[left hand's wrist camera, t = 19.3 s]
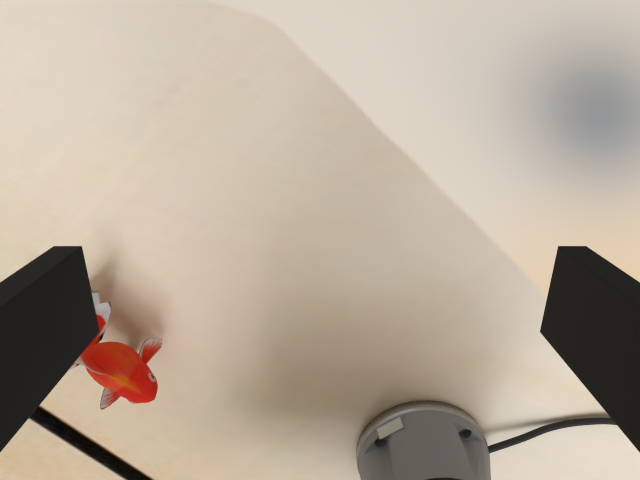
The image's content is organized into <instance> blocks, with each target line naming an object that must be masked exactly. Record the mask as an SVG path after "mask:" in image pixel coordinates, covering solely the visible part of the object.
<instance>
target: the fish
mask: <svg viewBox="0 0 640 480" xmlns="http://www.w3.org/2000/svg"><path fill="white" fill-rule="evenodd" d="M91 292H92V297H93V302H94V306H95V311H96V316H97V320H98V325H99V330H100V332H99V334H98V335H97V336H96V337H95V338H94V340H93V341H92V342H91V343H90V344H89V346H88V347H87V348H86V349H85V350H84V352H83V353H82V354H81V355H80V357H79V358H78V359H77V360H76V361H75V363H74V364H73V365H72V366H71V367H70V369H69V370H71V369H72V368H74V367H76V366H78V365H79V364H80V365H83V366H85V367H86V369H87V371H88V373H89V374H90V375H91V376H92V378H93V379H94V380H95V381H96V382H98V383H99V384H100V385H102V386H103V387H105V389H104V391H103V394H102V397H101V404H100V407H101V409H104V408H106V407H108V406H110V405H111V404H112V403H113V402H115V401H116V400H117V399H118V398H119V397H120V396H122V397H124V398H127V399H128V401H129V402H131V403H133V404H136V403H148V402H150V401H152V400H154V399H155V397H156V393H157V387H158V385H157V380H156V378H155V376H154V375H153V373H152V372H151V370H150V369H149V367H148V366H147V363H148V361H149V360H150V359H151V358H152V357H153V356H154V355H155V354H156V352H157V351H158V350H159V349H160V348H161V344H162V340H161V339H148V340H146V341H145V342H144V344H143V345H142V347H141V350H140V353H139V354H138V353H137V352H136V351H135V350H133V349H132V348H131V347H129V346H127V345H125V344H122V343H118V342H104V343H99V341H101V340H102V337H103V335H104V332H105V329H106V326H107V323H108V320H109V317H110V312H111V304H110V302H106V303H100V299H99V292H96V291H91ZM69 370H68V371H69Z"/></svg>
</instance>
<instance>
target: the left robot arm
mask: <svg viewBox="0 0 640 480" xmlns="http://www.w3.org/2000/svg"><path fill="white" fill-rule="evenodd" d="M99 332H100V330H99V325H98V320H97V316H96V311H95V306H94V302H93V297H92V292H91V288H90V283H89V278H88V273H87V269H86V264H85V259H84V255H83V250H82V246H54V247H52V248H51V249H49V250H48V251H46V252H45V253H43V254H42V255H40V256H39V257H37V258H36V259H34V260H33V261H31V262H30V263H28V264H27V265H25V266H24V267H23V268H21V269H20V270H18V271H17V272H15V273H14V274H12V275H11V276H9V277H8V278H6V279H5V280H3V281H2V282H0V452H1V451H2V449H3V448H4V447H5V446H6V445H7V443H8V442H9V441H10V440H11V439H12V437H13V436H14V435H15V434H16V433H17V431H18V430H19V429H20V428H21V427H22V425H23V424H24V423H25V422H26V421H27V419H28V418H29V417H30V416H31V414H32V413H33V412H34V411H35V410H36V408H37V407H38V406H39V405H40V404H41V402H42V401H43V400H44V399H45V398H46V396H47V395H48V394H49V393H50V392H51V390H52V389H53V388H54V387H55V385H56V384H57V383H58V382H59V381H60V379H61V378H62V377H63V376H64V375H65V373H66V372H67V371H68V370H69V369H70V367H71V366H72V365H73V364H74V363H75V361H76V360H77V359H78V358H79V357H80V355H81V354H82V353H83V352H84V350H85V349H86V348H87V347H88V346H89V344H90V343H91V342H92V341H93V340H94V338H95V337H96V336H97V335H98V334H99ZM540 332H541V334H542V335H543V336H544V337H545V338H546V340H547V341H548V342H549V343H550V344H551V346H552V347H553V348H554V349H555V350H556V352H557V353H558V354H559V355H560V357H561V358H562V359H563V360H564V361H565V363H566V364H567V365H568V366H569V367H570V369H571V370H572V371H573V372H574V373H575V375H576V376H577V377H578V378H579V379H580V381H581V382H582V383H583V384H584V385H585V387H586V388H587V389H588V390H589V392H590V393H591V394H592V395H593V396H594V398H595V399H596V400H597V401H598V402H599V404H600V405H601V406H602V407H603V408H604V410H605V411H606V412H607V413H608V414H609V416H610V417H611V418H583V419H573V420H567V421H561V422H556V423H552V424H548V425H545V426H542V427H540V428H537V429H535V430H532V431H530V432H527V433H525V434H522V435H520V436H517V437H514V438H511V439H508V440H505V441H502V442H499V443H496V444H493V445H490V446H487V443H486V440H485V438H484V435H483V433H482V431H481V429H480V427H479V425H478V424H477V423H476V421H475V420H474V419H473V418H472V417H471V416H470V415H468V414H467V413H466V412H464V411H462V410H461V409H459V408H457V407H454V406H452V405H449V404H445V403H440V402H433V401H419V402H411V403H406V404H402V405H399V406H396V407H394V408H391V409H389V410H387V411H385V412H384V413H382V414H380V415H379V416H378V417H376V418H375V419H374V420H373V421H372V422H371V423H370V424H369V425H368V426H367V427H366V429H365V430H364V431H363V433H362V435H361V437H360V439H359V442H358V446H357V463H358V471H359V474H360V478H361V480H491V474H490V455H489V453H492V452H495V451H498V450H501V449H504V448H507V447H510V446H512V445H515V444H518V443H521V442H524V441H526V440H529V439H531V438H534V437H536V436H539V435H541V434H544V433H546V432H549V431H553V430H557V429H561V428H566V427H572V426H580V425H594V424H612V425H618V427H619V428H620V429H621V430H622V431H623V433H624V434H625V435H626V436H627V437H628V439H629V440H630V441H631V442H632V443H633V445H634V446H635V447H636V448H637V449H638V451H639V452H640V282H638V281H637V280H635V279H634V278H632V277H631V276H629V275H628V274H626V273H625V272H623V271H622V270H620V269H619V268H617V267H616V266H614V265H613V264H612V263H610V262H609V261H607V260H606V259H604V258H603V257H601V256H600V255H598V254H597V253H595V252H594V251H592V250H591V249H589V248H588V247H586V246H558V250H557V255H556V259H555V264H554V269H553V274H552V278H551V283H550V288H549V292H548V297H547V302H546V306H545V311H544V316H543V320H542V325H541V330H540Z"/></svg>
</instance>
